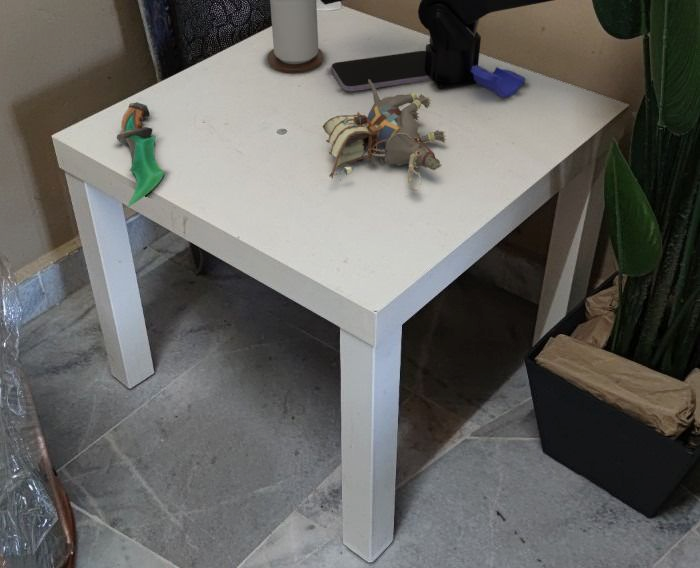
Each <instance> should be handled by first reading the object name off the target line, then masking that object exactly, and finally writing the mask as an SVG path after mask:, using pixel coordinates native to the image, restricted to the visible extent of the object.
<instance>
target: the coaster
mask: <svg viewBox="0 0 700 568" xmlns="http://www.w3.org/2000/svg"><path fill="white" fill-rule="evenodd" d="M323 62H324V54H323V51H322V50H321V49H320V48H318V53H317V55H316V56H315V57H313V58H312V59H311V60H310V61H308V62H305V63H301V64H288V63H285V62H282V61H281V60H280V59H279V58H277V57H276V56H275V54H274V48H273V49H271V50H270V51H269V52H268V54H267V63H268V66H270V68H272V69H274V70H275V71H278V72H280V73H281V72H282V73H286V74H303V73H306V72H310V71H313V70H315V69H317V68H319V67H320V66H321V65H322V63H323Z"/></svg>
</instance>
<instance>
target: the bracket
mask: <svg viewBox="0 0 700 568" xmlns="http://www.w3.org/2000/svg"><path fill="white" fill-rule="evenodd" d="M471 72H472V73H473V77H474V80H475V82H476V83H477V84H478V85H479V86H482V87H483V88H485V89H487V90H489V91H491V92H493V93H494V94H496V95H498V96H499V97H502V98H505V99H506V98H509V97H512V96H513V95H515V94H516V93H517V91H518V90H519V89H520V88H521V86H522V85H523V84H524V83H525V81H526V78H525V76H522V75H521V74H519V73H517V72H514V71H512V70H509V69H505V68H500V67H497V66H496V67H495V69H494V70H493V72H491V71H490V70H488V69H486V68H484V67H481V66H480V65H479V64H478V65H475V66H472V69H471Z"/></svg>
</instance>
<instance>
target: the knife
mask: <svg viewBox="0 0 700 568" xmlns="http://www.w3.org/2000/svg"><path fill="white" fill-rule="evenodd" d="M149 116H150V111H149V108H148V105H146V104H144V103H141V102H138V101H136V102H129V104H128V108H127V109H126V110H125V112H124V114H123V116H122V120H121V132H120V133H118V134H117V135H116V140H117V141H118V142H120V143H124V144H127V145H128V147H129V149H130V155H131V168H130V169H129V170H130V172H132V173H133V174H134V176H135V178H136V179H135V180H136V185H135V190H134V192H133V194H132V197H131V198H130V200H129V203H128V205H127V208H128V207H130V206H132V205H134V204H135V203H137V202H139V201H140V200H141V199H143V198H144V197H145V196H147V195H148V194H149V193H150V192H151V191H153V190H154V189H155V187H156V186H157V185H158V184H159V183H160V182H161V181H162V179H163V177H164V175H165V171H163V170H162V169H161V168H160V166H159V165H158V163H157V160H156V157H155V151H154V147H155V146H154V145H155V140H156V135H153V136H151V135H152V134H153V128H152V127H148V126H144V127H143V123H142V121H143V120H144V118H147V117H149ZM150 136H151V137H150Z"/></svg>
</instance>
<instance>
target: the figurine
mask: <svg viewBox="0 0 700 568" xmlns="http://www.w3.org/2000/svg"><path fill="white" fill-rule="evenodd" d="M368 82H369V84H370V86H371V91H372V96H373V105H372V106H371V107H370V111H368V114H367V115H365V114H363V115H362V114H360V112H359V111H357V113H356V114H346V115H345V114H344V115H336V116H334V117H331V118H329V119H328V120H327V121H325V122H324V124H323V125H322V128H323V130H324V132H325V133H326V134H327V136H329V137H328V139H326V140H325V142H326V143H327V144H331V148H330V151H329V152H328V154H329V155H330V156H334V158H335V160H334V164H333V168H332V172H331V173H330V174H329V175H328V177H329V178H331V179H332V180H333V179H334V176H337V175H339V174H343V173H344V174H345V175H346V176H348V175H349V174H350V173H352V171H353V170H354V167H352V166H344V165H348V164H350V163H353V162H363V161H364V160H365V159H369V161H370V163H371V165H372V167H375V165H374V162H373V161H372V157H373V156H375V157H379V159H380V161H381V163H382V164H384V161H383V159H382V157H384V160H385V162H386V163H387V164H388V165H394V166H397V167H402V166H407V165H408V171H407V183H408V184H409V186H410V189H412V191H414V193H415V194H418V192H417V190H419V189H420V188H421V186H422V182H423V179H422V177H421V174H420V172H419V171H416V170H415V169H419V168H420V167H423V168H425V169H427V168H428V169H429V170H433V171H434V170H435V171H436V170H438V169H439V168H441V167H442V164H441V162H440V160H439V159H438V158H437V157H436V155H435V153H434V152H433V151H432V149H431V148H430V147H429V146H428V145H426V144H425V143H428V142H429V143H433V142H434V141H439V142H441V143H444V144H446V141H447V139H446V137H447V135H445V133H446V132H445V131H441V130H440V131H439V130H437V129H436V130H435V131H429V132H428V133H427V134H425V135H423V136H420V133H419V132H418V131H419V122H418V121H419V118H420V116H419V115H420V113H419V112H418V111H419V110H421V107H422V106H424V107H425V109H429V108H430V107H431V101H432V100H431V99H430V96H425V95H424V94H422V93H420V94H418V93H417V92H412V93H411V92H410V93H406V94H403V93H402V94H396V95H393V96H385V97H383V98H381V99H380V97H379V94H378V91H377V88H375V86H374V85H373V83H372V82H371V80H370V79H368ZM407 104H408V105H407ZM404 105H406V106H405V107H403V106H404ZM400 107H403V108H402V109H400ZM378 147H381V149H379V148H378ZM382 148H383V149H382ZM380 152H382V153H380ZM383 152H384V153H383ZM342 166H343V171H340V172H336V171H337V169H339V168H340V167H342ZM413 173H414V174H415V175H416V176H419V177H418V178H419V179H420V182H419V183H420V184H419V186H417V187H416V188H415V187H414V185H413Z"/></svg>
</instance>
